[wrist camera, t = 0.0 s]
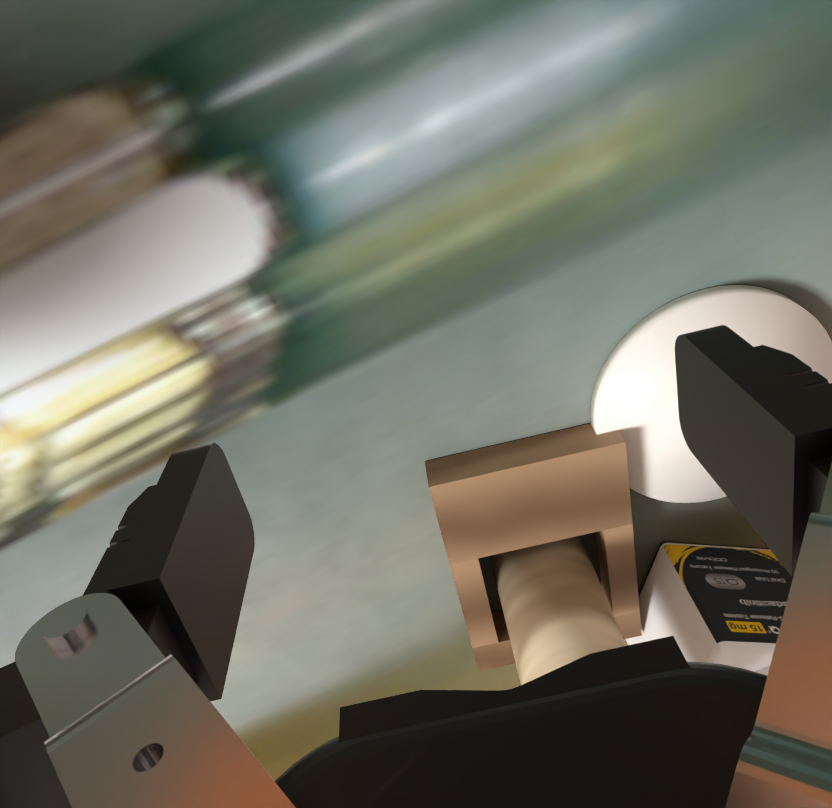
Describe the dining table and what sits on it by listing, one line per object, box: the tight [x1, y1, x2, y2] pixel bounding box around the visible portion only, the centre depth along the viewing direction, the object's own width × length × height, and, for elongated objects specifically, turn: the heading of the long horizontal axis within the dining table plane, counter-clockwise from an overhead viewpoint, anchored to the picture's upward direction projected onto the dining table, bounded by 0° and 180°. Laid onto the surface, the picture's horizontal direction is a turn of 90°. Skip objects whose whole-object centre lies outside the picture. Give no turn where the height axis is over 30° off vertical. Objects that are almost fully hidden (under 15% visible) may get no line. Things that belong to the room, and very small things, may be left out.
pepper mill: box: [493, 536, 626, 685], centre depth 31 cm, size 5×5×15 cm
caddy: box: [425, 423, 642, 671], centre depth 36 cm, size 13×9×2 cm
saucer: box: [590, 285, 832, 503], centre depth 33 cm, size 11×11×1 cm
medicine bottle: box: [626, 543, 793, 676], centre depth 35 cm, size 7×7×12 cm
